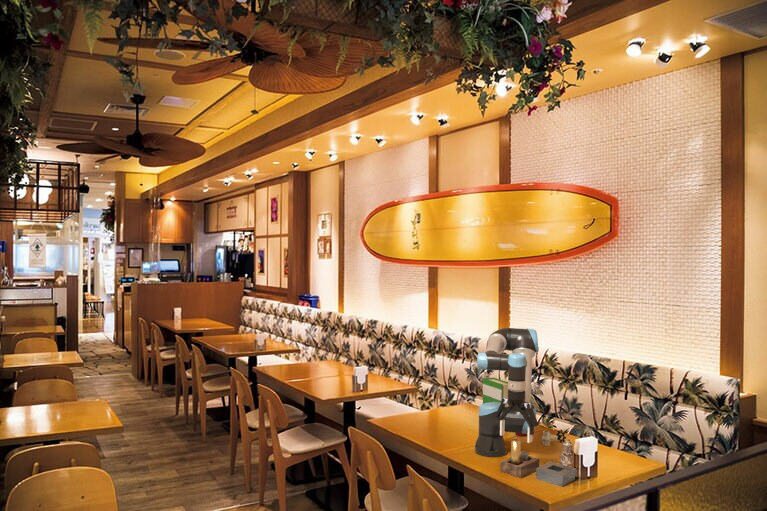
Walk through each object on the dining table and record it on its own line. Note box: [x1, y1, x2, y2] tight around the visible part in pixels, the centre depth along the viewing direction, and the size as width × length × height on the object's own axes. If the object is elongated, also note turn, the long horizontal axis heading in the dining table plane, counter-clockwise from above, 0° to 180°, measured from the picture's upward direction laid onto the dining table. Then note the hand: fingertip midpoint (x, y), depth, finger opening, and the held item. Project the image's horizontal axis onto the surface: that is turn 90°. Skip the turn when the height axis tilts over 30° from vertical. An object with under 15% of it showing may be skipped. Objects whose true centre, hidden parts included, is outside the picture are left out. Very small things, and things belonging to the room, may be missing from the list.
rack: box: [499, 450, 540, 479], centre depth 261 cm, size 10×16×7 cm, turn 137°
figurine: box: [558, 439, 575, 468], centre depth 266 cm, size 7×7×12 cm
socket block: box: [535, 461, 577, 487], centre depth 252 cm, size 12×12×4 cm
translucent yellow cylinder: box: [510, 438, 522, 466], centre depth 258 cm, size 4×4×14 cm
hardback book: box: [482, 377, 509, 407], centre depth 336 cm, size 18×7×24 cm, turn 25°
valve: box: [541, 429, 567, 447], centre depth 300 cm, size 7×7×12 cm
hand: (515, 438), depth 259 cm, fingers open, 13 cm apart
